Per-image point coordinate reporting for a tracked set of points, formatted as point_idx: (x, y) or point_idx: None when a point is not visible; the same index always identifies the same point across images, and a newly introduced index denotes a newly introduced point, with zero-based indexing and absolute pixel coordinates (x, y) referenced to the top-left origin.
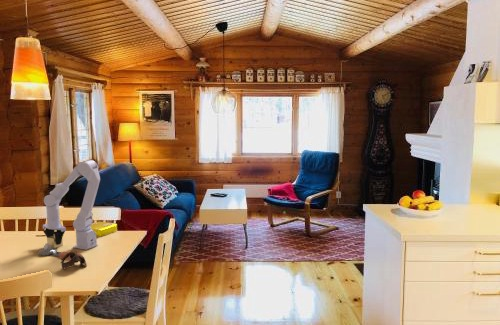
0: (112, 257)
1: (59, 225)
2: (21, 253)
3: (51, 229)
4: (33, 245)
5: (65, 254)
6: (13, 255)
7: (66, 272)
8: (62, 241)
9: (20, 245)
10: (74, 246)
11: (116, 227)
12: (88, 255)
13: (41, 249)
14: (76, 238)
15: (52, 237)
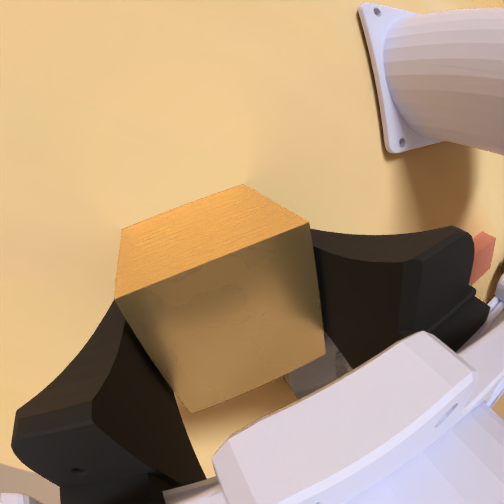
0: None
1: (494, 414)
2: (197, 450)
3: (164, 470)
4: (37, 391)
5: (470, 281)
6: (203, 468)
7: None
8: (263, 196)
9: (6, 430)
10: (398, 140)
11: None
12: (498, 180)
13: (295, 392)
14: (482, 145)
15: (253, 363)
